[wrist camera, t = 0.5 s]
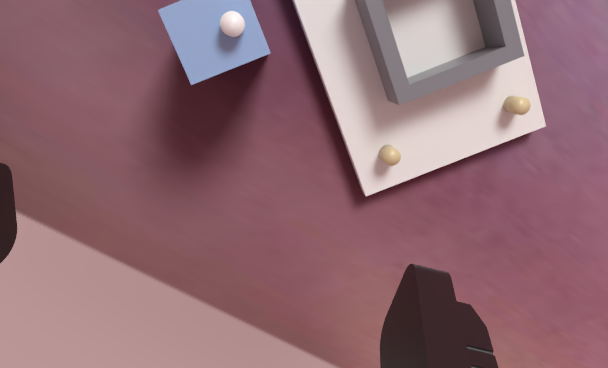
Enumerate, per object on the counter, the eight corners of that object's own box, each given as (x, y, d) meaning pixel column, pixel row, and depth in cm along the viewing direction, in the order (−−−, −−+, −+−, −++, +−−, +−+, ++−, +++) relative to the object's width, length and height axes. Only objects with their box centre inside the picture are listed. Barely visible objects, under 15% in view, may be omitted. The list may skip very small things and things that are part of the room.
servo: (185, 20, 34) (153, 8, 24) (246, -5, 33) (239, -27, 24) (209, 76, 35) (188, 86, 25) (269, 52, 35) (271, 53, 25)
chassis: (262, -82, 32) (261, -103, 28) (463, -164, 32) (494, -198, 28) (361, 190, 38) (374, 209, 33) (535, 123, 37) (570, 132, 33)
